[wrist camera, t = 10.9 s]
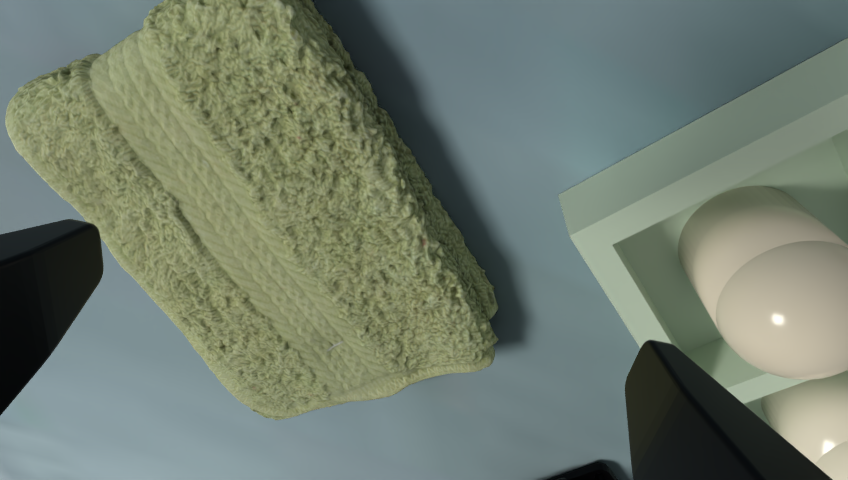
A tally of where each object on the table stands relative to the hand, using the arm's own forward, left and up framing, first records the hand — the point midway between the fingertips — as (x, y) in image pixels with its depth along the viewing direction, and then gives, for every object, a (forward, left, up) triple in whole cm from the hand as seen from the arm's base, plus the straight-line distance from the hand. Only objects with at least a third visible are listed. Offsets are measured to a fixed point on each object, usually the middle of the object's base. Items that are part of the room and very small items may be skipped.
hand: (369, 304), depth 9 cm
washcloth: (-1, +8, -13) cm, 15 cm away
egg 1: (-10, -7, -12) cm, 17 cm away
